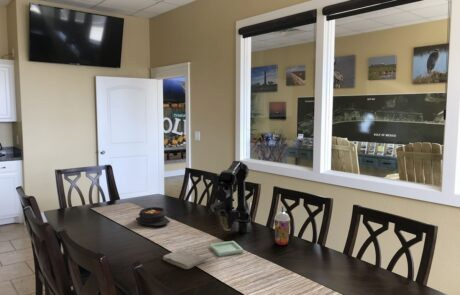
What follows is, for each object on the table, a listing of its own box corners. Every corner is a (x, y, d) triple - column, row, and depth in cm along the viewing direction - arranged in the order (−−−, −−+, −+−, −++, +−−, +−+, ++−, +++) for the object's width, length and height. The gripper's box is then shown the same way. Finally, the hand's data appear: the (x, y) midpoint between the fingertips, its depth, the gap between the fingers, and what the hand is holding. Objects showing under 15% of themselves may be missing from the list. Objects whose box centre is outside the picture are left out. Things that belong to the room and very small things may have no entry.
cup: (234, 227, 190) (234, 212, 189) (234, 232, 183) (235, 216, 182) (219, 227, 190) (219, 212, 189) (219, 232, 182) (219, 216, 182)
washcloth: (179, 253, 184) (179, 247, 184) (205, 262, 173) (205, 256, 173) (161, 260, 175) (161, 254, 175) (187, 271, 164) (187, 264, 164)
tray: (210, 247, 191) (210, 243, 191) (233, 244, 196) (233, 240, 196) (218, 256, 179) (218, 253, 179) (243, 252, 184) (243, 249, 184)
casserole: (177, 223, 231) (176, 210, 230) (153, 231, 217) (152, 217, 216) (152, 216, 247) (152, 203, 246) (128, 222, 233) (128, 209, 232)
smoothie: (277, 246, 192) (278, 209, 190) (271, 241, 200) (272, 205, 198) (292, 245, 194) (293, 208, 192) (285, 240, 202) (286, 204, 200)
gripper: (206, 194, 190) (206, 223, 192) (218, 202, 173) (218, 234, 175) (226, 192, 194) (226, 221, 196) (240, 200, 177) (240, 231, 179)
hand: (227, 226), depth 186 cm, fingers closed on cup, 6 cm apart
